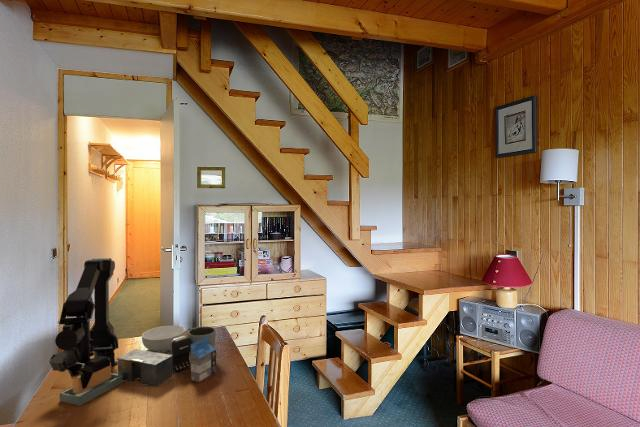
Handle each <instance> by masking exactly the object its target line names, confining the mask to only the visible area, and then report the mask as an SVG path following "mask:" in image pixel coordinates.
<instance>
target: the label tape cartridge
mask: <svg viewBox="0 0 640 427" xmlns="http://www.w3.org/2000/svg"><path fill="white" fill-rule="evenodd" d="M199 343H200V344H201V343H202V345H200V346H198V347H197V345H199ZM216 373H217V349H216V348H215V347H214V348H213V347H212V346H210V345H209V344H208V337H206V338H204V339H202V340H200V341H197V342H195V343H193V344H191V364H190V379H191V380H190V381H193V382H195V383H196V382H197V383H201V382H203V381H204V380H206V379H208V378H209V377H210V376H213V375H214V374H216Z"/></svg>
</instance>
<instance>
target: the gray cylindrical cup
mask: <svg viewBox="0 0 640 427" xmlns="http://www.w3.org/2000/svg"><path fill="white" fill-rule="evenodd" d="M187 337H188V338H190V340H191V344H193V343H195V342H197V341H200V340H202V339H204V338H206V337H208V344H209V345H210V346H212V347H213V348H215V347H216V346H215V345H216V328H215V327H213V326H203V325H202V326H197V327H192V328H191V329H189V330H188V331H187ZM200 345H202V343H201V344H200V343H199V345H197V347H198V346H200ZM189 360H190V365H191V351H190V354H189Z"/></svg>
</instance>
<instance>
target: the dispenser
mask: <svg viewBox="0 0 640 427" xmlns="http://www.w3.org/2000/svg"><path fill="white" fill-rule="evenodd" d="M172 357H173V355H170V354H169V353H168V354H167V353H163V352H156V351H151V350H149V351H148V350H142V349H137V348H136V349H133V350H132V351H129V352H126V353H124V354H122V355H121V356H118V357H117V358H116V360H117V362H118V363H117V374H118V375H123V382H129V383H134V382H135V381H137V380H139V379H140V384H141V385H143V386H149V387H153V388H157V387H158V386H160V385H162V384H164V383H165V382H167V381H168V380H170V379H172V377H173V375H174V374H173V371H172Z"/></svg>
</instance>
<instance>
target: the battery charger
mask: <svg viewBox="0 0 640 427" xmlns="http://www.w3.org/2000/svg"><path fill="white" fill-rule="evenodd" d="M190 351H191V340H190V338H188V335H187V336H186V335H185V336H182V337H178V338H175V339H173V340H172V341H171V343H170V351H169V355H173V357H172V373H173V372H175V373H178V372H182V371H184V370H186V369H189V368H191V364H190V355H189V354H190Z"/></svg>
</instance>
